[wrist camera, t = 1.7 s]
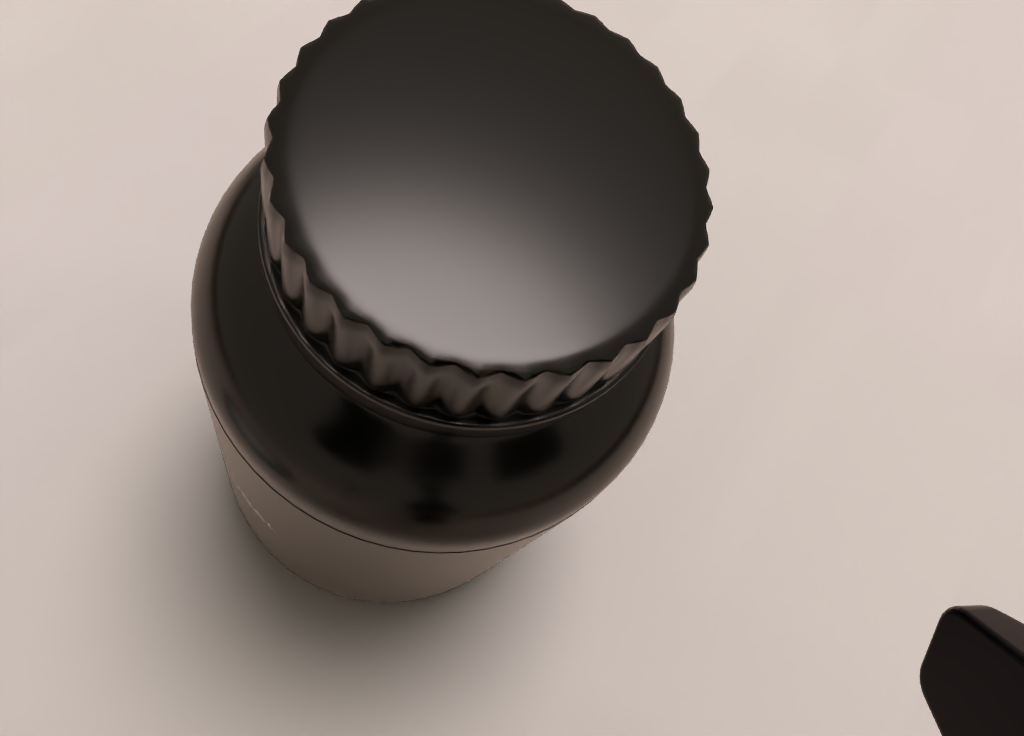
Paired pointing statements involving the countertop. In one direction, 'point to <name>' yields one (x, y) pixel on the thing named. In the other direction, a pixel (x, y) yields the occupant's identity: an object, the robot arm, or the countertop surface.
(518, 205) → the supplement bottle
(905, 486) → the countertop surface
